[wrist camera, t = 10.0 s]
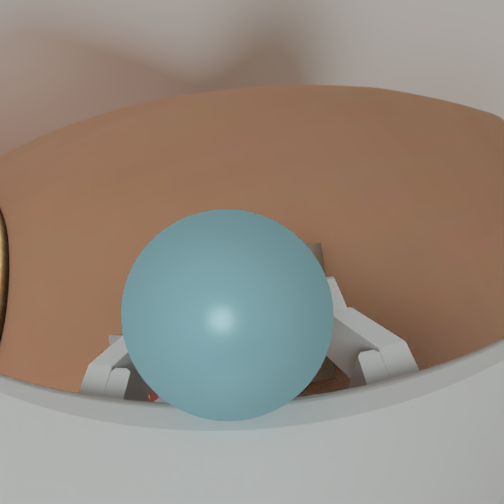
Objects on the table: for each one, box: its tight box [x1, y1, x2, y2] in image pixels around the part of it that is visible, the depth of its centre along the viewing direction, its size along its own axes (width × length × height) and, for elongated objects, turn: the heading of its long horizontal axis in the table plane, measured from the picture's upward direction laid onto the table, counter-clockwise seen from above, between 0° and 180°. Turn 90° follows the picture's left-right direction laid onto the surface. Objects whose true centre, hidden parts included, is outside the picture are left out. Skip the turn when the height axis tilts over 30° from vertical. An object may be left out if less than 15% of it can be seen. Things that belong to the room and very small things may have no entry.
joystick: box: [121, 209, 334, 421], centre depth 10 cm, size 3×3×12 cm
